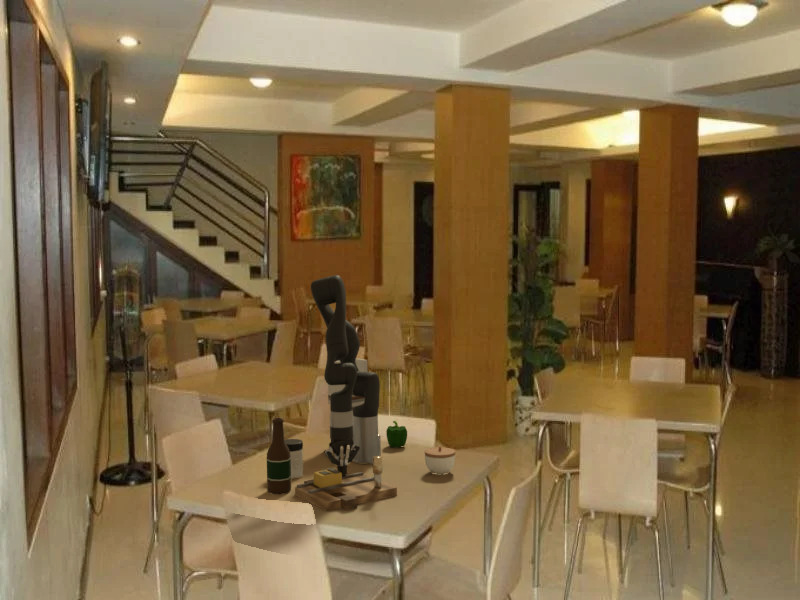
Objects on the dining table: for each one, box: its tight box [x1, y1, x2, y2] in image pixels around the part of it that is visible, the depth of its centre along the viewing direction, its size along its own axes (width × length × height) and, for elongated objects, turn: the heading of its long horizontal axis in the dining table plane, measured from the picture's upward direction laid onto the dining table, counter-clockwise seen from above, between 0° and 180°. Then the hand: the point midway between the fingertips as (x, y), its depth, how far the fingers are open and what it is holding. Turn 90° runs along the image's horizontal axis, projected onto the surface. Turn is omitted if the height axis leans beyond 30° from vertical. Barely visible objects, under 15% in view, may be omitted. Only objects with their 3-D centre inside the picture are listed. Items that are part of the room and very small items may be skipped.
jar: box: [284, 438, 304, 480], centre depth 295 cm, size 9×8×12 cm
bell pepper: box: [385, 420, 408, 448], centre depth 335 cm, size 8×8×10 cm
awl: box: [372, 455, 383, 489], centre depth 271 cm, size 3×3×10 cm
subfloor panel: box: [294, 471, 398, 512], centre depth 272 cm, size 26×26×3 cm
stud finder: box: [313, 467, 342, 488], centre depth 275 cm, size 7×6×4 cm
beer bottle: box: [266, 417, 292, 495], centre depth 277 cm, size 8×8×24 cm
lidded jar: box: [424, 445, 456, 474], centre depth 297 cm, size 11×11×9 cm
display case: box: [327, 357, 369, 448], centre depth 332 cm, size 11×11×35 cm
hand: (342, 476), depth 278 cm, fingers closed
